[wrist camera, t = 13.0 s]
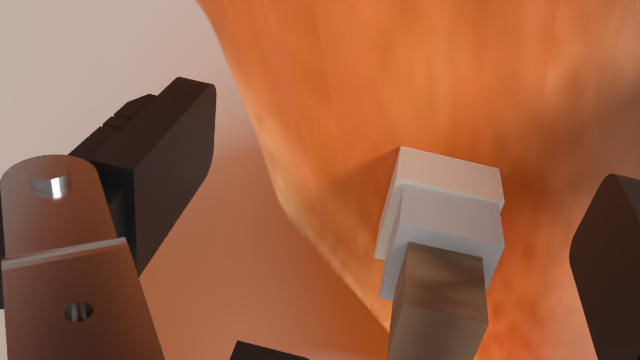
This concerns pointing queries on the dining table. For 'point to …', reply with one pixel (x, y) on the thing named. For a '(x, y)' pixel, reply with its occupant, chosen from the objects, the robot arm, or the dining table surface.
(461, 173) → the tower base
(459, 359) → the walnut block
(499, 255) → the tower top
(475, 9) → the dining table surface
